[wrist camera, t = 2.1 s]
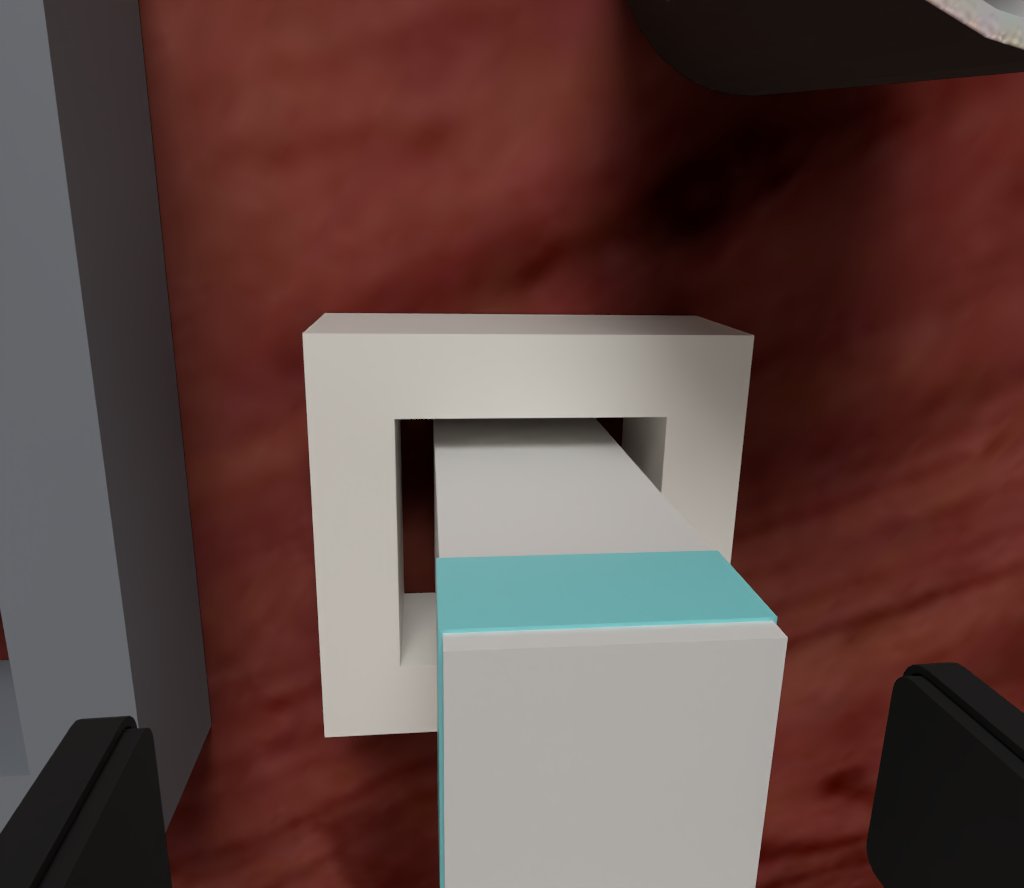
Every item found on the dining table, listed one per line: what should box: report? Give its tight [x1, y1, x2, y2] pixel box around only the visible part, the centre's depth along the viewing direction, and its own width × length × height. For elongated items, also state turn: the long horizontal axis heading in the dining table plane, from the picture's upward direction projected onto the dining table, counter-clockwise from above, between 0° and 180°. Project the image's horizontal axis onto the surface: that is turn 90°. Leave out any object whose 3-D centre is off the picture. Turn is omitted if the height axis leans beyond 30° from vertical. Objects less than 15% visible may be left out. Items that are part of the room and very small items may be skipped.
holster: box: [303, 313, 754, 737], centre depth 18 cm, size 9×9×4 cm
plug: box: [433, 418, 788, 888], centre depth 15 cm, size 4×4×11 cm
